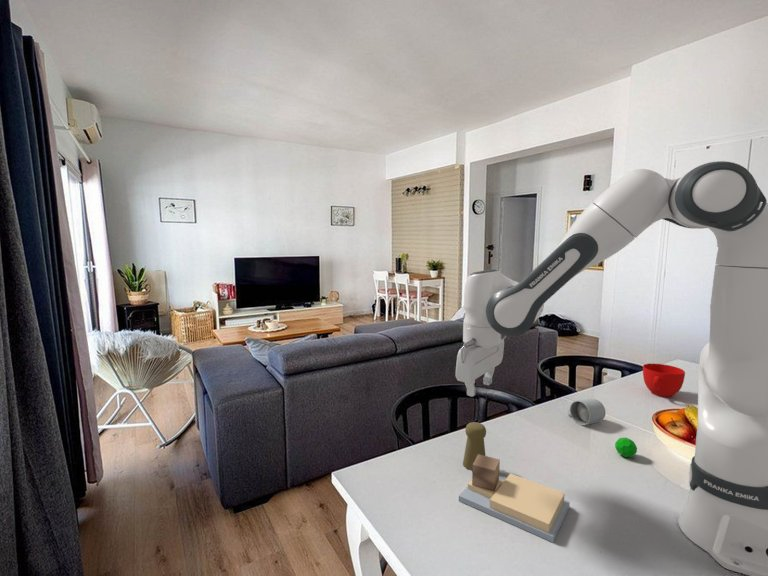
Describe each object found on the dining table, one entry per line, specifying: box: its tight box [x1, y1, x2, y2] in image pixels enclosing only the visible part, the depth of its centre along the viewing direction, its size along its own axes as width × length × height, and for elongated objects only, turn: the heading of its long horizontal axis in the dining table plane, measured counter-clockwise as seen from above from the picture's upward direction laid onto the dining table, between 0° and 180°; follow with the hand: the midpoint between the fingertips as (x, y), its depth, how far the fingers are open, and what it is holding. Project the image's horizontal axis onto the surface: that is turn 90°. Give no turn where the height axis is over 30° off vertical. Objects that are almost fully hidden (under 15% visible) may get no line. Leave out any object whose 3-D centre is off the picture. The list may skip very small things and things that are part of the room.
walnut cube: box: [471, 454, 501, 492], centre depth 89 cm, size 5×5×5 cm
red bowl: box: [642, 363, 686, 398], centre depth 146 cm, size 13×17×10 cm
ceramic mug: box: [567, 398, 606, 426], centre depth 126 cm, size 11×8×8 cm
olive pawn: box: [462, 421, 487, 472], centre depth 100 cm, size 6×6×11 cm
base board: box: [458, 473, 570, 543], centre depth 86 cm, size 20×13×3 cm, turn 52°
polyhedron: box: [614, 437, 638, 458], centre depth 105 cm, size 5×5×5 cm
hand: (479, 389), depth 97 cm, fingers open, 8 cm apart
